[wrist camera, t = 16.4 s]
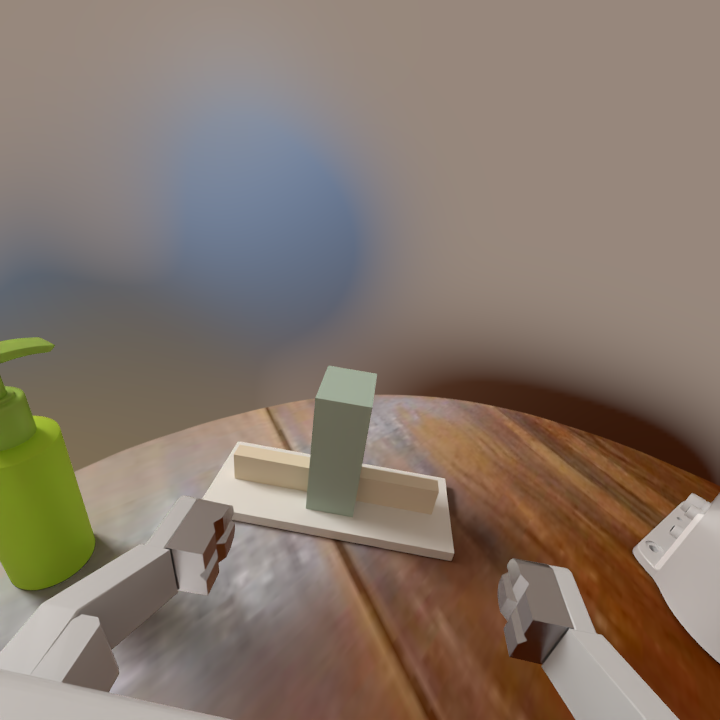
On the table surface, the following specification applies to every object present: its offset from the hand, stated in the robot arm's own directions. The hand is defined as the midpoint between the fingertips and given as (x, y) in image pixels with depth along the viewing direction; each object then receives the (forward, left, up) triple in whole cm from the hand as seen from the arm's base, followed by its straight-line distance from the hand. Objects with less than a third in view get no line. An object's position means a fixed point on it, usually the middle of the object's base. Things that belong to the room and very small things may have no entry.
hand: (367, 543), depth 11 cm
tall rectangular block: (-15, -16, -23) cm, 32 cm away
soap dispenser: (+8, -26, -24) cm, 37 cm away
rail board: (-15, -17, -24) cm, 33 cm away
